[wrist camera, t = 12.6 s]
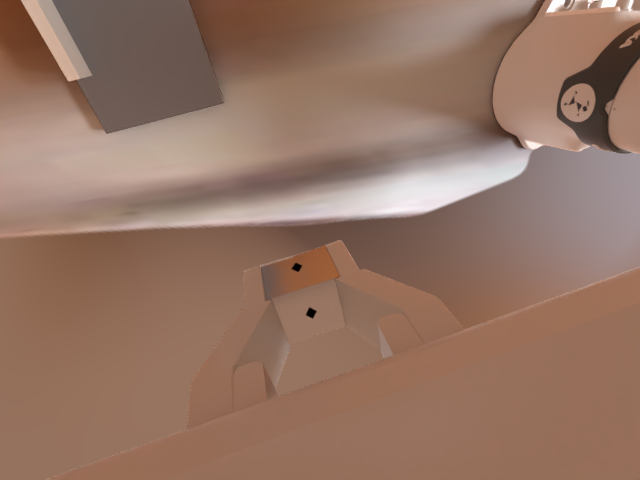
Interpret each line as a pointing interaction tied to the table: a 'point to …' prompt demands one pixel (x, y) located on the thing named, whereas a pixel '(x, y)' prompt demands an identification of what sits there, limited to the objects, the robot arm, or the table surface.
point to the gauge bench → (130, 57)
